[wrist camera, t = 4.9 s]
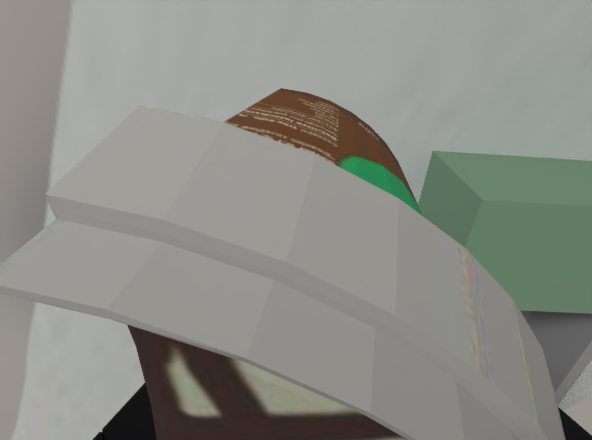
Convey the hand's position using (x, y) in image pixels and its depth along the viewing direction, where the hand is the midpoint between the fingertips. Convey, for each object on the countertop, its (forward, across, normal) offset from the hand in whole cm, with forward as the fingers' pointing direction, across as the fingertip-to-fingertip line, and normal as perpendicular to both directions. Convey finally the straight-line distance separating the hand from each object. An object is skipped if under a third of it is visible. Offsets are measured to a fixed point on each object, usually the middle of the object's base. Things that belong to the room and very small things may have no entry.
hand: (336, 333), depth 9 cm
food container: (+5, -1, 0) cm, 5 cm away
